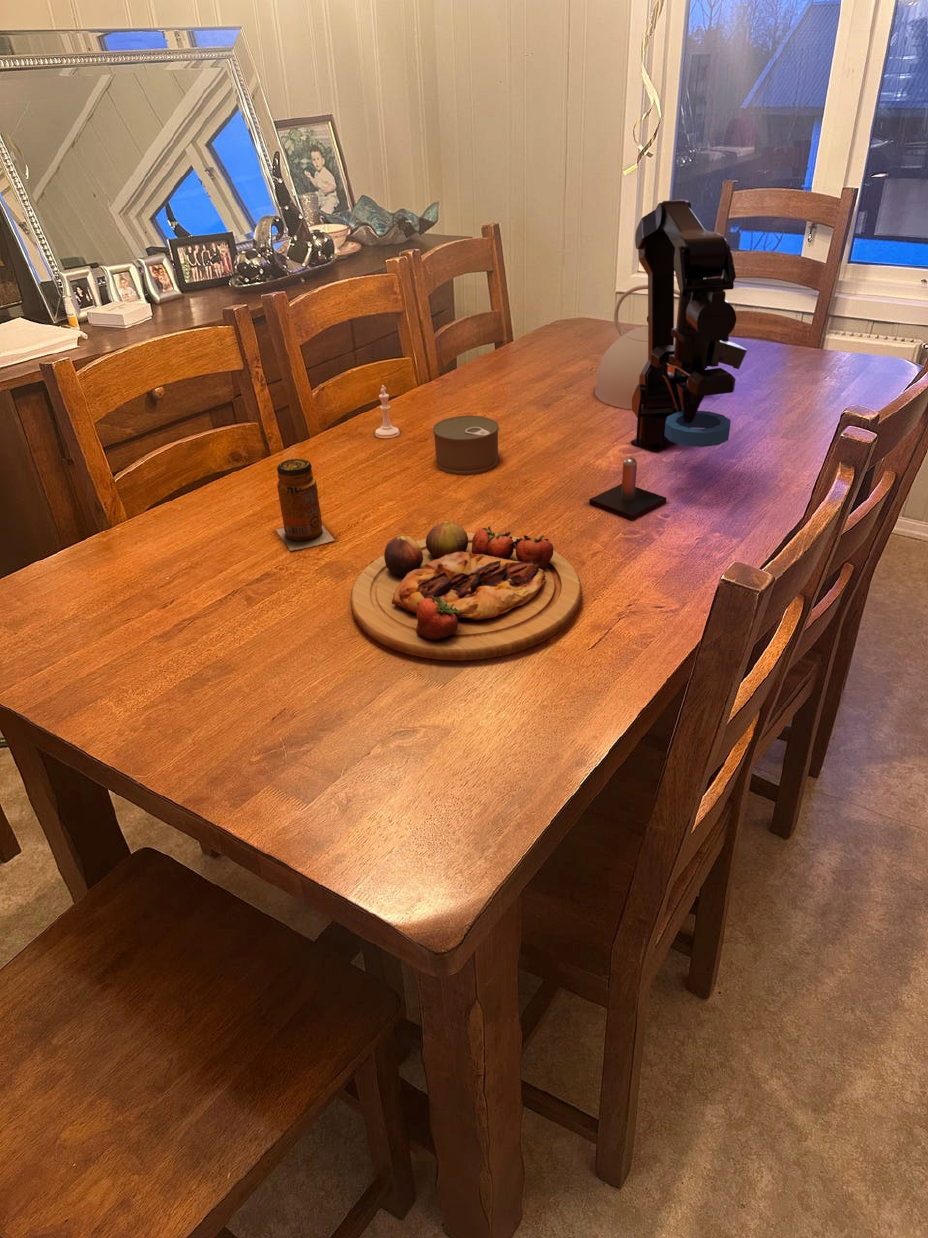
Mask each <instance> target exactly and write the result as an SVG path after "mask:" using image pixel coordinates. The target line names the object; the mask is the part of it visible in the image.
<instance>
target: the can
mask: <svg viewBox="0 0 928 1238" xmlns="http://www.w3.org/2000/svg"><path fill="white" fill-rule="evenodd" d="M499 429H500V426H499V423H498V422H497V421H496V420H494V419H492V418H489V417H485V416H479V415H460V416H453V417H449V418H445V419H442V420H440V421H438V422H437V423H435V424H434V425H433V427H432V433H433V436H434V437H433V438H434V448H435V449H434V451H435V460H436V461H435V462H436V463H435V464H436V467H437V468H438V469H439V470H441V471H442V472H445V473H447V474H453V475H462V476H463V475H466V476H467V475H477V474H481V473H486V472H489V471H490V470H493V469H494V468H495V467H497V465H498V464H499Z"/></svg>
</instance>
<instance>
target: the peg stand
mask: <svg viewBox="0 0 928 1238" xmlns="http://www.w3.org/2000/svg"><path fill="white" fill-rule="evenodd" d="M637 469H638V462H637V459H635V458H634V457H631V456H630V457H626V458H625V459H624V461H623V463H622V478H621V483H620V484H618V485H616V486H614V487H612V488H610V489H607V490H605V491H603V492H602V493H599V494H597V495H594V496H593V497H591V498H589V500H588V501H589V502H588V505H590V506H593V507H594V508H595V507H596V508H598V509H600V510H603V511H606V512H608V513H611V514H612V515H613V514H614V515H616V516H619V517H621V518H623V519H626V520H629V521H634V520H637V519H638V518H640V517H642V516H643V515H646V514H647V513H649V512H652V511H653V510H656V509H657V508H659V507H661V506H663V505H665V504H666V503H667V497H666V496H663V495H661V494H658V493H655V492H652V491H648V490H647V489H643V488H640V487H637V486H636V484H637Z"/></svg>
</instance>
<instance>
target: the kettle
mask: <svg viewBox="0 0 928 1238" xmlns="http://www.w3.org/2000/svg"><path fill="white" fill-rule="evenodd" d="M642 290H648V284H642V285H637V286H633V287H631V288H630V289H627V291H625V292H623V294H622V295H621V296H620V298H618V301H617V303H616V305H615V309H614V315H613V319H614V324H615V328H616V330H617V332H618V334H619V336H620V337H619V338H617V339H616V340H615V341H614V342H613V343H611V345H610V346H609V348H608V349H607V350H606V352H605V353H604V355H603V356H602V358H601V361H600V363H599V366H598V369H597V375H596V382H595V396H596V398H597V399H598V400H599V401H601V402H602V403H604V404H607V405H609V406H612V407H616V408H619V409H624V410H629V411H630V410H631V411H633V410H632V397H633V394H634V392H635V390H636V387H637V385H638V384H639V376H640V374H641V372H642V370H643V368H644V367H645V365H646V363H647V361H648V325H646V326H639V327H637V328H633V329H632V330H629V331H627V332H626V333H624V332H623V329H622V327H621V325H620V321H619V311H620V308H621V305H622V303H623V301H624V300H625V299H626V298H627V297H628V296H629V295H631V294H633V293H634V292H637V291H642ZM679 293H680V290H679V289H676V288H674V295H676V296H679ZM646 322H647V323H648V315H647V316H646ZM674 345H675V338H674Z"/></svg>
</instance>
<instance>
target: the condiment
mask: <svg viewBox="0 0 928 1238" xmlns="http://www.w3.org/2000/svg"><path fill="white" fill-rule="evenodd" d="M276 471H277V478H278V481H277V484H276V487H277V493H278V500H279V505H280V506H279V507H280V512H281V516H282V523H283V527H282V528H277V529H275V531H276V533H277V534H278V536H279V537H280V539H281V540H282V541H283V542H284V544H285V545H286V547H287V548H288V550H289V551H291V552H292V551H299V550H302V549H308V548H311V547H315V546H316V547H318V546H320V545H323V544H328V543H330V542H334V541H336V540H335V538H334V537H333V536H332V535H331V534H330V532H329V531H328V530H327V529H326V527H325V526H324V525H323V521H322V512H321V511H322V510H321V507H320V501H319V494H318V493H319V491H318V485H317V481H316V478H315V476H314V474H313V470H312V464H311V462H310V460H306V459H304V458H290V459H286V460H284V461H281V462H280V463H279V464H278V465H277V466H276Z"/></svg>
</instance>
